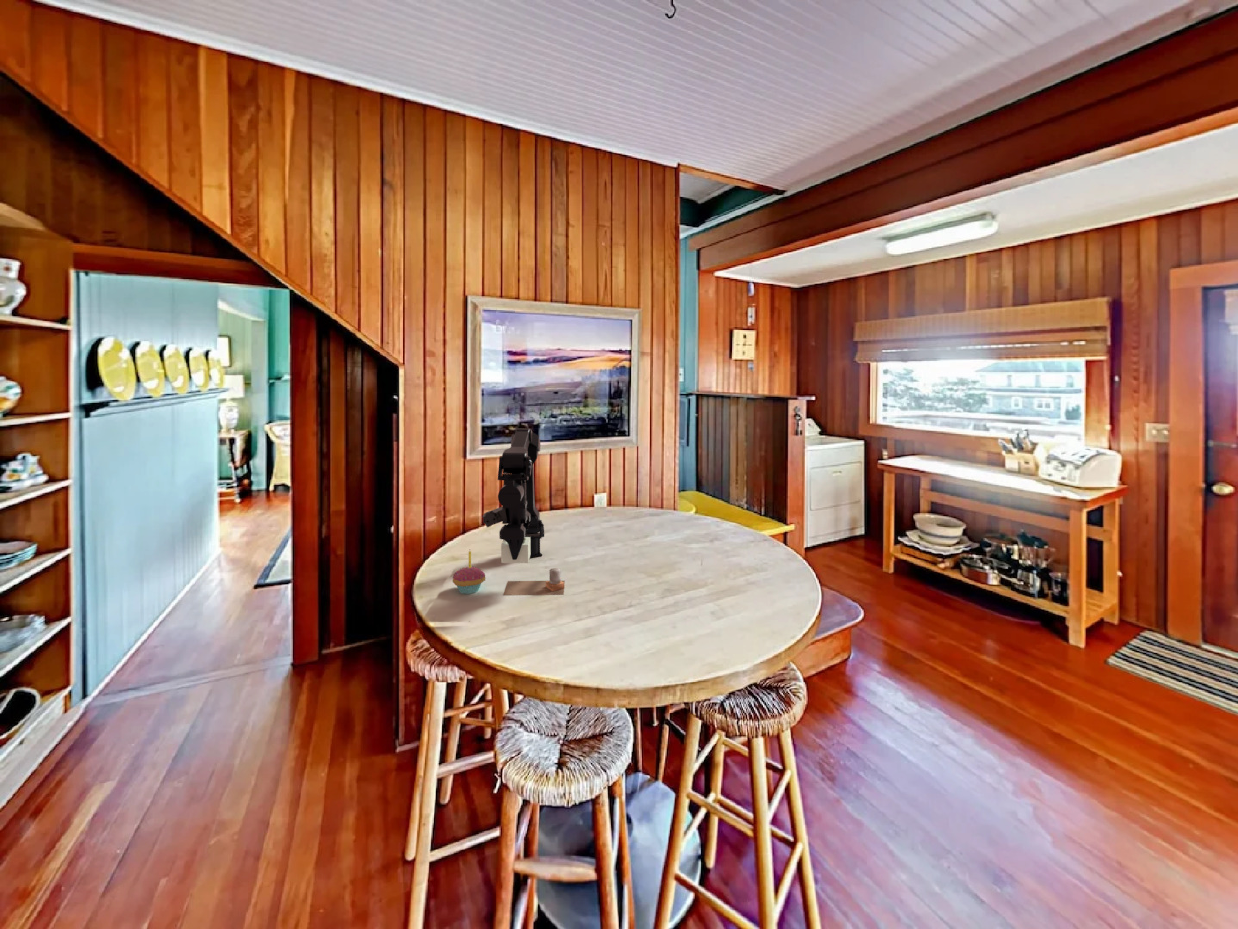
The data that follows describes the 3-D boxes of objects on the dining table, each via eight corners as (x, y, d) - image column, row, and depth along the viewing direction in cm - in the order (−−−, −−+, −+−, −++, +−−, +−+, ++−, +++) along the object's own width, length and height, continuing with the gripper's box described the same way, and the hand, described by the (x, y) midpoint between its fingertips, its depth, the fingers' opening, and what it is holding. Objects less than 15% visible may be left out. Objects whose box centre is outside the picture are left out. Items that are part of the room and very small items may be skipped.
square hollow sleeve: (530, 554, 156) (530, 537, 155) (528, 563, 149) (527, 545, 148) (505, 554, 155) (504, 537, 154) (501, 563, 148) (501, 545, 148)
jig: (565, 583, 159) (565, 563, 158) (563, 598, 150) (563, 576, 149) (507, 584, 158) (507, 564, 157) (502, 598, 148) (502, 577, 147)
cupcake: (456, 587, 156) (455, 546, 154) (488, 587, 156) (487, 545, 154) (450, 600, 147) (448, 556, 145) (483, 599, 148) (482, 555, 146)
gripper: (490, 491, 158) (491, 544, 161) (478, 507, 140) (479, 567, 142) (530, 491, 159) (530, 544, 161) (523, 507, 140) (524, 567, 143)
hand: (516, 555), depth 152 cm, fingers closed on square hollow sleeve, 7 cm apart
